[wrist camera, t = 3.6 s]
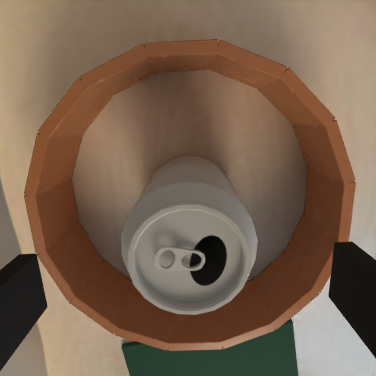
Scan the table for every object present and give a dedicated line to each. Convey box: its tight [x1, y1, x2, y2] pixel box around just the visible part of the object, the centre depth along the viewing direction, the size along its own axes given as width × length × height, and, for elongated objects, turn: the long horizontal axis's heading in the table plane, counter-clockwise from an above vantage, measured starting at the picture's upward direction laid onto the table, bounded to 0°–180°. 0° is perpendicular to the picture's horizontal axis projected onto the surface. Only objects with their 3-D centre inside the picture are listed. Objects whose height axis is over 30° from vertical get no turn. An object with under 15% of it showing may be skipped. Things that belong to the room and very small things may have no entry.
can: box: [121, 156, 258, 315], centre depth 19 cm, size 8×8×12 cm
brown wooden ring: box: [24, 39, 356, 351], centre depth 22 cm, size 23×23×6 cm
